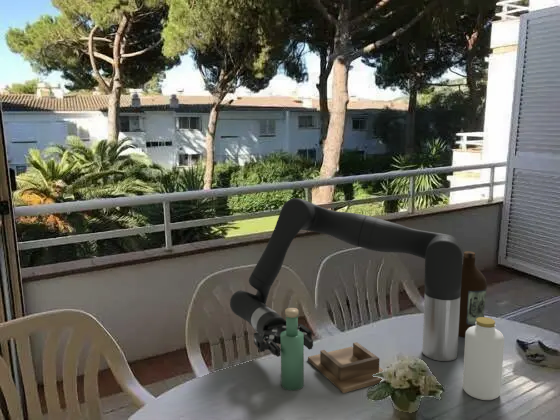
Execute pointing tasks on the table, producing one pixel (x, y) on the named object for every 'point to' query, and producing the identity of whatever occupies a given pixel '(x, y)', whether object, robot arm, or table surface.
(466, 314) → the olive oil
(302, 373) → the bottle
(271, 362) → the table surface
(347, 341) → the table surface
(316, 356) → the bottle rest
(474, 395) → the potion bottle
